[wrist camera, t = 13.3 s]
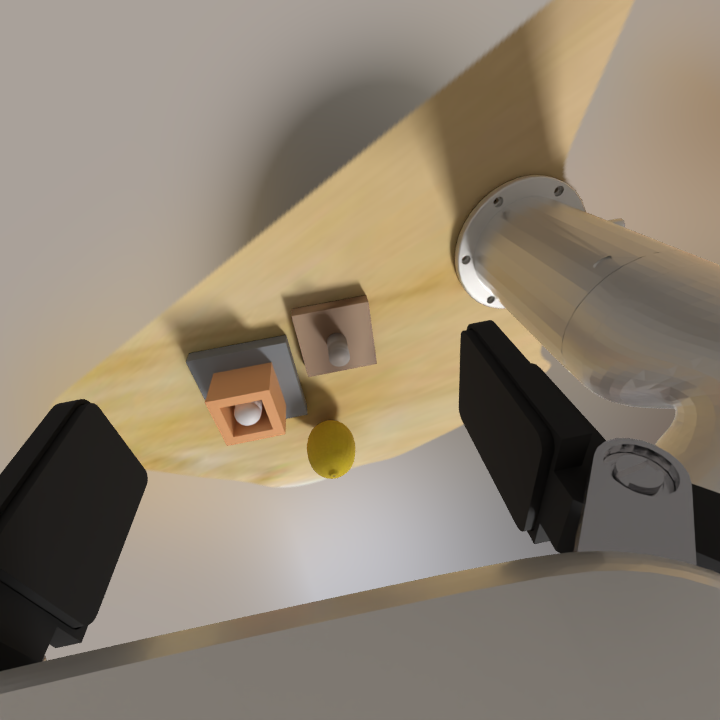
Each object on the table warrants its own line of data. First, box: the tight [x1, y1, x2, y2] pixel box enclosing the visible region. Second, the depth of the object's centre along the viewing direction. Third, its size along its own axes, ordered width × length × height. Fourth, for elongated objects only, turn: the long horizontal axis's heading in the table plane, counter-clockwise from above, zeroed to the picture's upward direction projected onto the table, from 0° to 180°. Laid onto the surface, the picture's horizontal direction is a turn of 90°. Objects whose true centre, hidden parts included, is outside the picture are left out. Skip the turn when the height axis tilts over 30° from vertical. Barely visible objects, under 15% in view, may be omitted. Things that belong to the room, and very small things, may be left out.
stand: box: [292, 295, 377, 377], centre depth 38 cm, size 8×8×4 cm
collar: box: [205, 362, 286, 446], centre depth 38 cm, size 6×6×4 cm
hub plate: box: [186, 335, 307, 426], centre depth 39 cm, size 10×10×6 cm
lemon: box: [307, 420, 355, 479], centre depth 43 cm, size 6×6×8 cm
